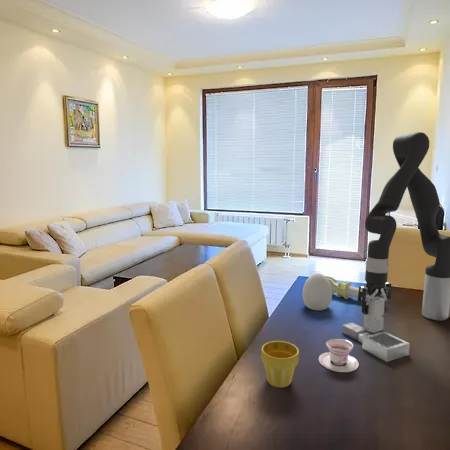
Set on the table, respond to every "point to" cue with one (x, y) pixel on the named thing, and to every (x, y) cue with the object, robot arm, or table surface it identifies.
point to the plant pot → (279, 362)
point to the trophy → (343, 289)
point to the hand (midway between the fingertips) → (373, 312)
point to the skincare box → (375, 315)
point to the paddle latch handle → (378, 342)
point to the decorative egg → (317, 292)
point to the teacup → (339, 356)
